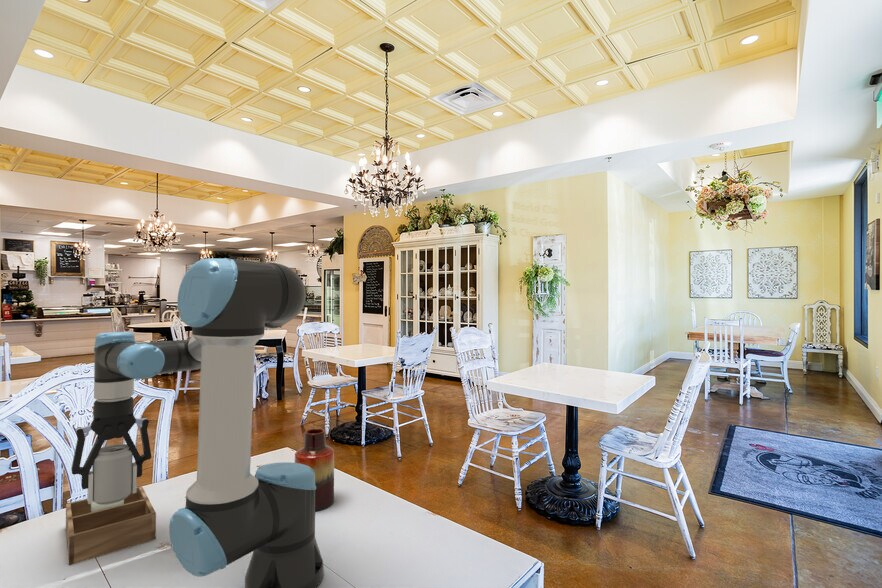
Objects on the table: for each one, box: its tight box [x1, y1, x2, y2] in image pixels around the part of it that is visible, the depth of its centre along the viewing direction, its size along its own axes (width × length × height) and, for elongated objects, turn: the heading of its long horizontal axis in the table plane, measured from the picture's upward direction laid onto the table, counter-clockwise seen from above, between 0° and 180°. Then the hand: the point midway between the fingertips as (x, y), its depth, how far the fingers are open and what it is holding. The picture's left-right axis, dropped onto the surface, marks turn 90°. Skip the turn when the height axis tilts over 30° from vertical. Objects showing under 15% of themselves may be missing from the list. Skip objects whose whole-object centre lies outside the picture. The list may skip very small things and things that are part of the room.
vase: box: [294, 428, 335, 513], centre depth 124 cm, size 11×11×20 cm
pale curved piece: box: [91, 500, 124, 512], centre depth 109 cm, size 7×7×9 cm
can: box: [91, 443, 133, 505], centre depth 102 cm, size 8×8×12 cm
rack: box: [65, 485, 157, 566], centre depth 106 cm, size 20×16×7 cm
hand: (112, 496), depth 102 cm, fingers closed on can, 7 cm apart
